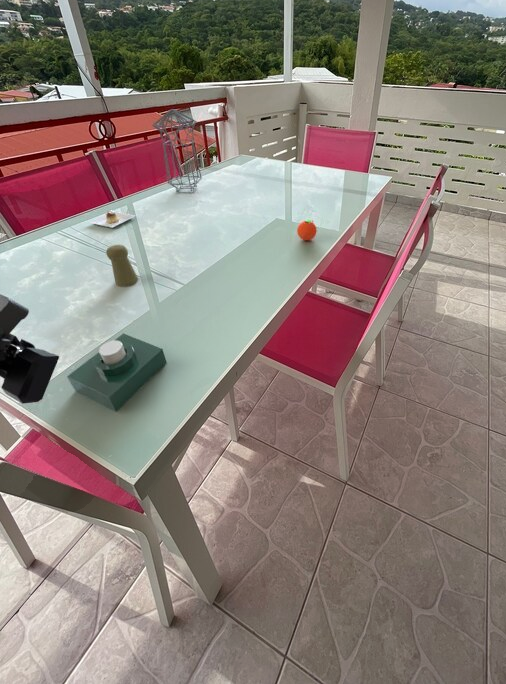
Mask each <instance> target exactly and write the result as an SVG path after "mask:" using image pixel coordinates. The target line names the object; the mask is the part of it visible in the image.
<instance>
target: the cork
mask: <svg viewBox="0 0 506 684" xmlns="http://www.w3.org/2000/svg"><path fill="white" fill-rule="evenodd" d="M105 255H106V257H107V258H108V260H110V262H111V266H112V274H113V277H114V283H115V285H116V286H117V287H119V288H125V287H130V286H132V285H135V284H136V283H138V281H139V277H138V275H137V273H136V271H135V268H134V267H133V265H132V263H131V261H130V258H129V257H128V255H129V251H128V248H127V247H126V246H125V245H123V244H113V245H111V246H109V247H108V248H107V249H106V252H105Z"/></svg>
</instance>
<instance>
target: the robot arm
mask: <svg viewBox="0 0 506 684" xmlns="http://www.w3.org/2000/svg"><path fill="white" fill-rule="evenodd" d="M29 313H30V310H29V308H28V307H25V306H24V305H22V304H20V303H19V302H17V301H15V300H13V299H12V298H10V297H8V296H6V295H3V294H1V293H0V378H2V379H3V383H2V385H1V387H0V388H1V389H2V392H3V393H5V395H7V396H9V397H10V398H11V399H13V400H15V401H17V402H19V403H21V404H32V403H33V404H34V403H39V402H40V401H42V400H43V398H44V396H45V393H46V391H47V388H48V386H49V385H50V381H51V378H52V377H53V375H54V372H55V369H56V368H57V367H56V366H57V364H58V361H59V359H60V356H59V355H57V354H55V353H52V352H49V351H47V350H45V349H41V348H36V346H35V345H34V344H33V343H31V342H29V341H27V340H25V339H23V338H21V339H20V340H19V338H18V337H17V336H16V335H14V334H12V332H13V331H14V329H15V328H16V327H17V326H18V325H19V324H20V323H21V322H22V320H25V319H26V318H27V317H28V315H29Z"/></svg>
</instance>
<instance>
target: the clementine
mask: <svg viewBox="0 0 506 684" xmlns="http://www.w3.org/2000/svg"><path fill="white" fill-rule="evenodd" d="M317 230H318V229H317V226H316V224H315V223H314V221H313V220H311V219H307V220H303V221H301V222H300V223H299V224H298V226H297V230H296V233H297V235H298V237H299V238H300V239H301V240H303V241H312V240H313V239H314V238H315V237H316V235H317V232H318V231H317Z"/></svg>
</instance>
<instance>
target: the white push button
mask: <svg viewBox="0 0 506 684" xmlns="http://www.w3.org/2000/svg"><path fill="white" fill-rule="evenodd" d="M98 352H99V353H100V356H101V358H102V360H103V362H104V363H105V364H107V365H112V364H115V363H118V362H120V361H121V360H123V359H124V358H125V356H126V352H125V350H124V347H123V345H122V343H121V342H120V341H117V340H115V339H114V340H110V341H107V342H104V344H102V345H100V347H99V349H98Z"/></svg>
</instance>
